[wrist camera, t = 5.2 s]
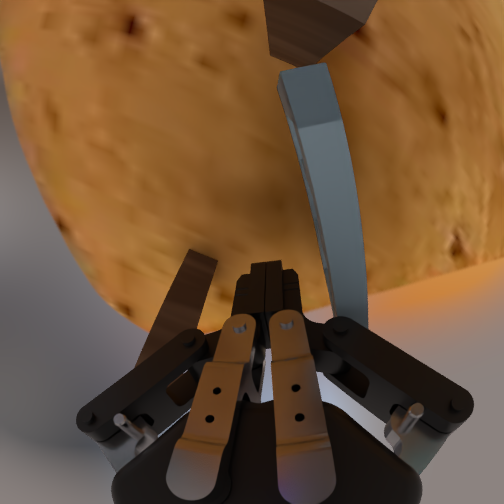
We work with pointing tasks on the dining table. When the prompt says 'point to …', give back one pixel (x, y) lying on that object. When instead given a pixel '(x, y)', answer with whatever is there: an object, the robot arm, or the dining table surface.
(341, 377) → the robot arm
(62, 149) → the dining table surface
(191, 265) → the gate posts
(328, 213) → the gate leaf
